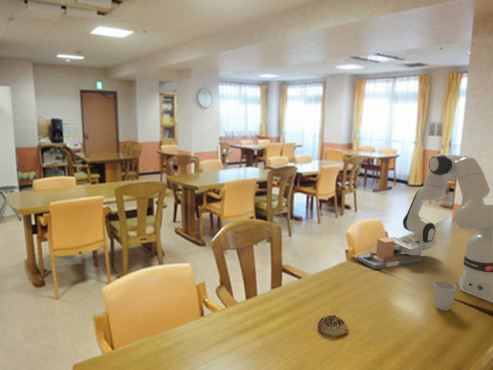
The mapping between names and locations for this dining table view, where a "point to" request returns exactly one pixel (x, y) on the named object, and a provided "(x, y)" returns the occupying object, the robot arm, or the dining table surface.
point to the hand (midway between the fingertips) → (389, 247)
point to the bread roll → (332, 326)
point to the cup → (444, 294)
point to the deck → (388, 259)
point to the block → (385, 248)
